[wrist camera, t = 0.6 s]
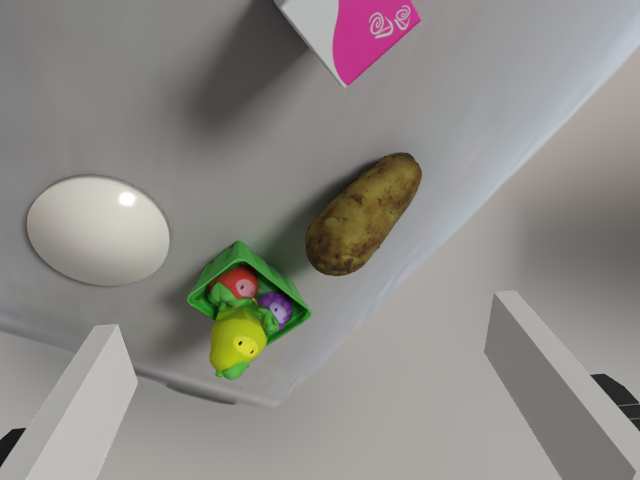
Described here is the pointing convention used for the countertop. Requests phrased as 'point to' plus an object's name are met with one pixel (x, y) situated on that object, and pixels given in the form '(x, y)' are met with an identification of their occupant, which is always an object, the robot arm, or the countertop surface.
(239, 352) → the fruit basket
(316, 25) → the supplement box
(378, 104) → the countertop surface
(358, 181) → the potato
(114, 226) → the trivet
